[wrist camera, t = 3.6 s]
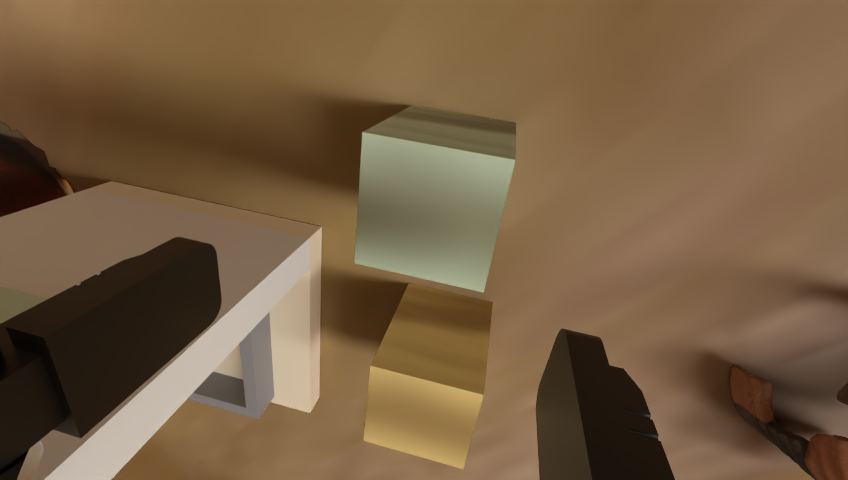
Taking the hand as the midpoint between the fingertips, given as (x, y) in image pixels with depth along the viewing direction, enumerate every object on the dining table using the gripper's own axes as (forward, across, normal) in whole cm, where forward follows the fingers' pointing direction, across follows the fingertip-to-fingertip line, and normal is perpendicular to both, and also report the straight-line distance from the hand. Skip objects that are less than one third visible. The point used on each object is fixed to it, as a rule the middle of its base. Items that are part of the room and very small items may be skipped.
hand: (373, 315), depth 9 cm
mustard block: (+13, -1, +10) cm, 16 cm away
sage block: (+12, 0, 0) cm, 13 cm away
